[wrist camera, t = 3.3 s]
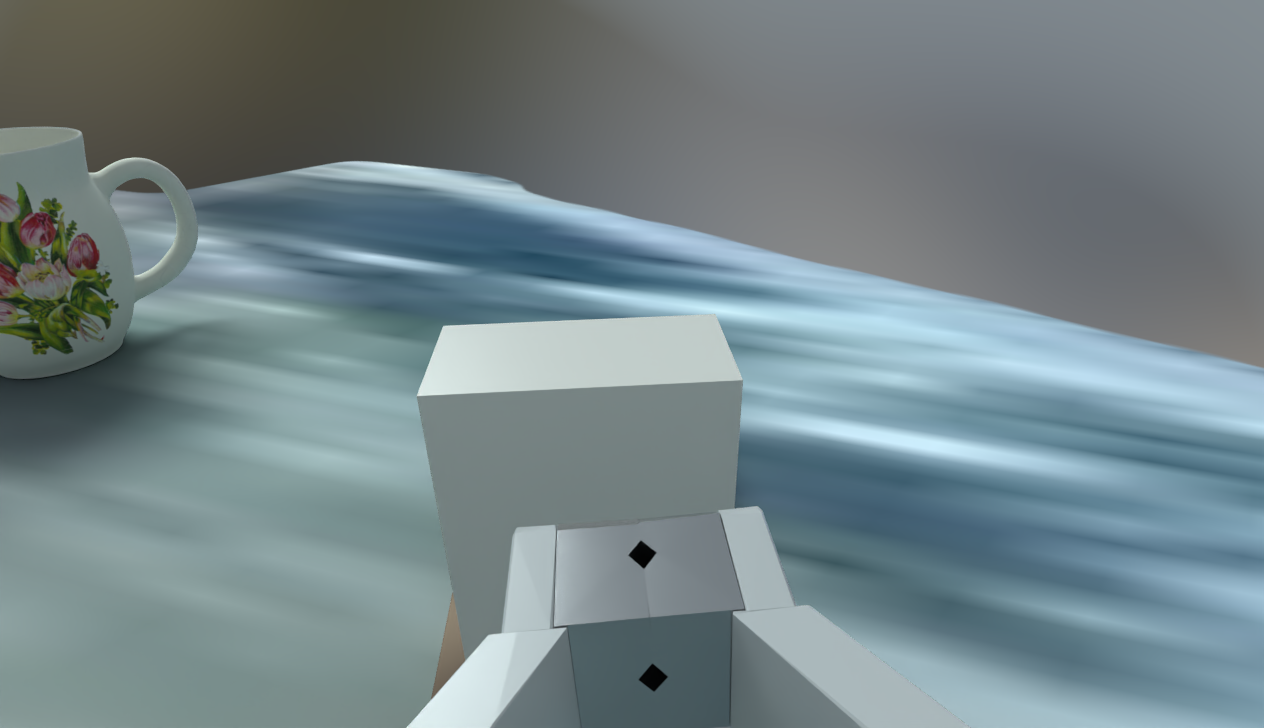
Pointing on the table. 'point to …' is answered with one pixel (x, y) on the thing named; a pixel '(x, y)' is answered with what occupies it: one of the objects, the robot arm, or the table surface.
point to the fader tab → (571, 436)
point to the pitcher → (72, 252)
